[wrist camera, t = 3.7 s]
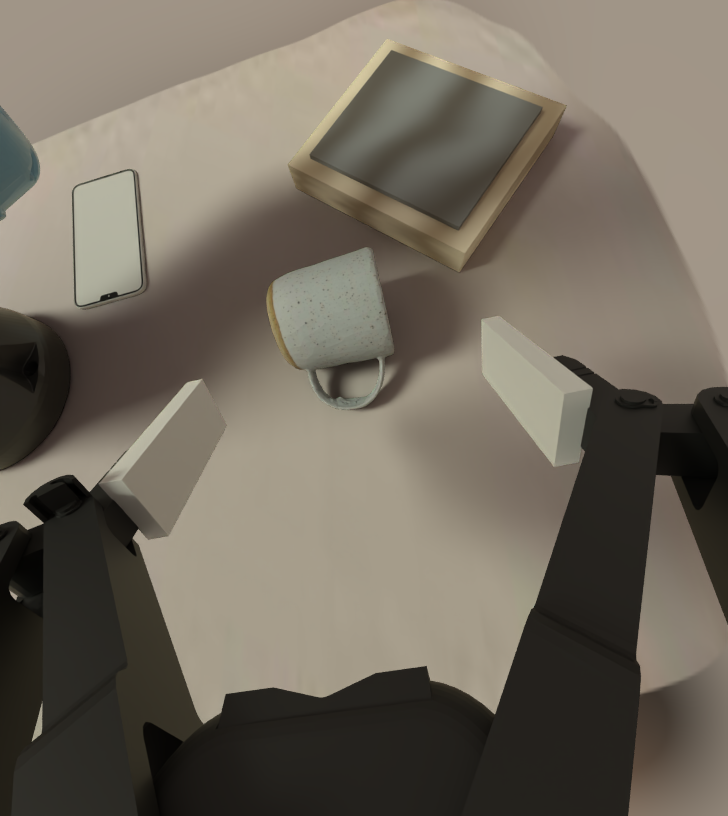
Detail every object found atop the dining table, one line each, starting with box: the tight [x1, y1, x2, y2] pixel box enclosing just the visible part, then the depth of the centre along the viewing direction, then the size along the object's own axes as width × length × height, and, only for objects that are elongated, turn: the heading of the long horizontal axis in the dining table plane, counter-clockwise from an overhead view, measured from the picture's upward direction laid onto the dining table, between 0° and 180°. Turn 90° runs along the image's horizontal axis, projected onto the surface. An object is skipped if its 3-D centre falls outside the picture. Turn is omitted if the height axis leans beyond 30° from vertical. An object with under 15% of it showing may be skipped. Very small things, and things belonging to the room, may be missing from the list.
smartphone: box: [72, 169, 147, 310], centre depth 34 cm, size 7×1×15 cm
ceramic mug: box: [266, 247, 394, 410], centre depth 24 cm, size 11×8×8 cm
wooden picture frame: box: [288, 39, 567, 272], centre depth 30 cm, size 18×16×3 cm
